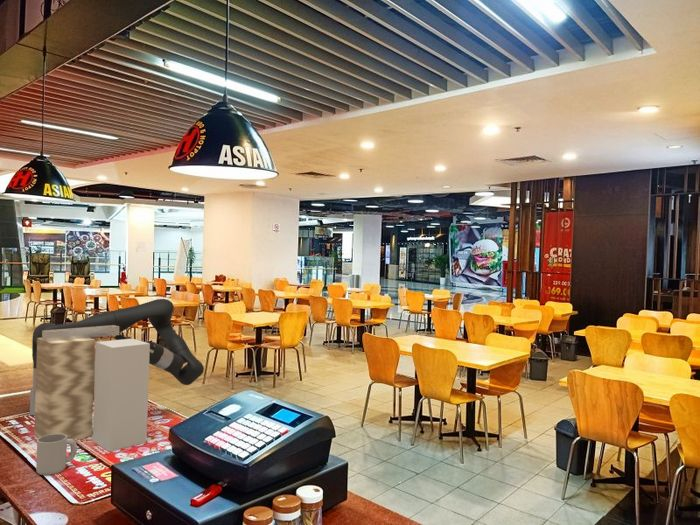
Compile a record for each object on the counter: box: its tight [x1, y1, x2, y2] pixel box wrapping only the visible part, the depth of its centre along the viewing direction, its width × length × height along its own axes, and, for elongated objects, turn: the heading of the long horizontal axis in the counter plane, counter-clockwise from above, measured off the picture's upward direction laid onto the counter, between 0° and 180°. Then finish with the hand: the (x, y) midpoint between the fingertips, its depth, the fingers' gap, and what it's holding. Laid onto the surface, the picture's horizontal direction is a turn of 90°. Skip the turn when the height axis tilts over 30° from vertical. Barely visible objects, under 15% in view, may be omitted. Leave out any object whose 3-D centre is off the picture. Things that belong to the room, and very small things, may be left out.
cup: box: [35, 434, 78, 476], centre depth 145 cm, size 7×10×9 cm
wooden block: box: [42, 325, 120, 342], centre depth 173 cm, size 23×4×3 cm, turn 138°
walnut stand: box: [33, 338, 96, 441], centre depth 170 cm, size 13×13×32 cm
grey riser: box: [92, 338, 150, 453], centre depth 167 cm, size 12×12×32 cm
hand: (121, 337), depth 183 cm, fingers open, 8 cm apart
